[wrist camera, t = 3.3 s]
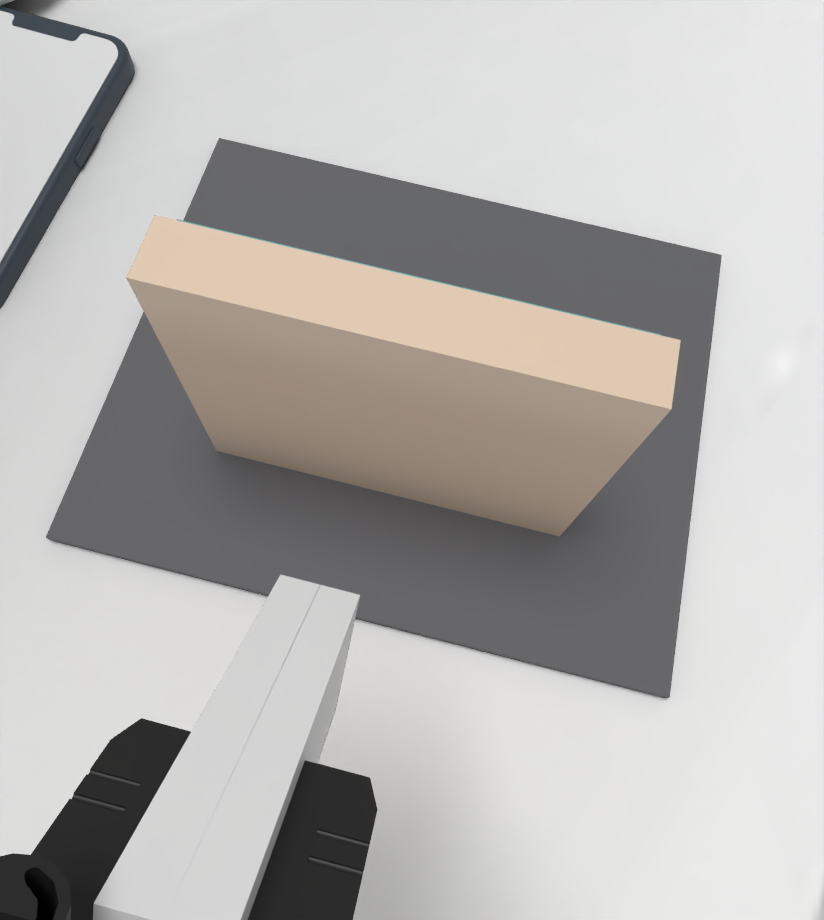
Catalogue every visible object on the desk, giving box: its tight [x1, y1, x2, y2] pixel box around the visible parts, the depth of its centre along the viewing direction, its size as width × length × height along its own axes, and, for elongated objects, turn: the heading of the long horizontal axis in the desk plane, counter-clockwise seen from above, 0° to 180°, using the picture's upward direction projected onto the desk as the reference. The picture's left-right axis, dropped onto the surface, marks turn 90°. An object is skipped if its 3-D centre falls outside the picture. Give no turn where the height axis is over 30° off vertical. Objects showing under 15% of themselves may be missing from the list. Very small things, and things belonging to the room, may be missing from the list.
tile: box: [126, 215, 681, 537], centre depth 25 cm, size 14×2×12 cm, turn 76°
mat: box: [46, 138, 722, 698], centre depth 32 cm, size 24×20×1 cm
